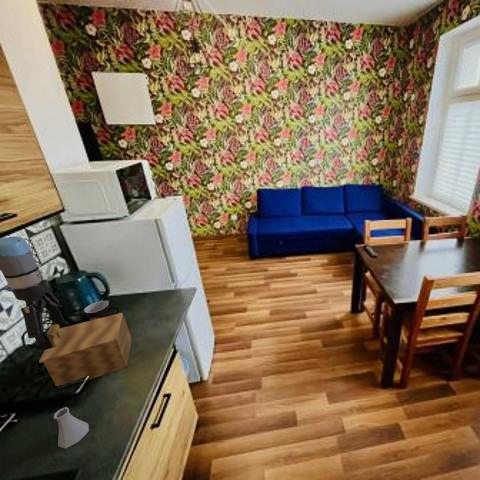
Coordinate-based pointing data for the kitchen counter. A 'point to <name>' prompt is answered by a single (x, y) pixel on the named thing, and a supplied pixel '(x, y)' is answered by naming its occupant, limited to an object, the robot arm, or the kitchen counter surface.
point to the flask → (69, 428)
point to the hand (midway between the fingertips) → (54, 336)
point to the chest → (92, 360)
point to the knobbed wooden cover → (81, 336)
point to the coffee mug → (98, 310)
